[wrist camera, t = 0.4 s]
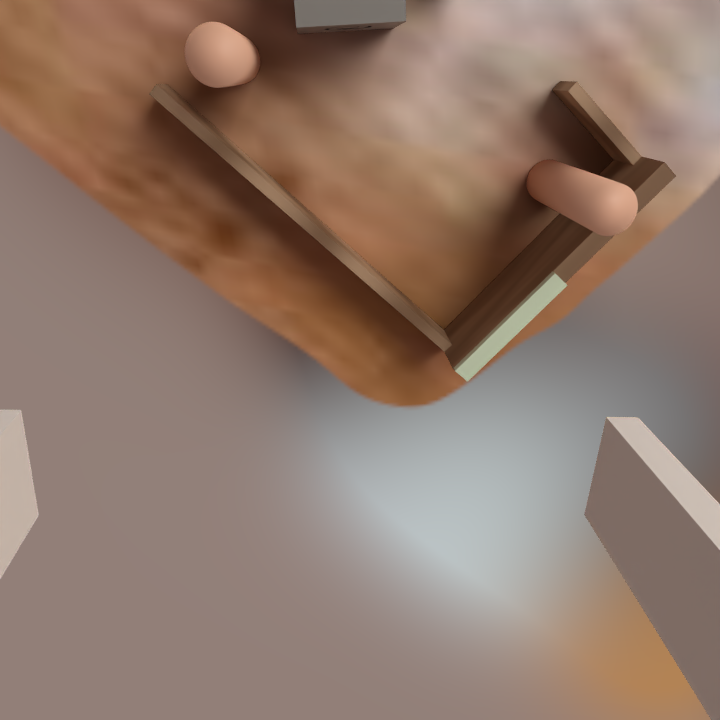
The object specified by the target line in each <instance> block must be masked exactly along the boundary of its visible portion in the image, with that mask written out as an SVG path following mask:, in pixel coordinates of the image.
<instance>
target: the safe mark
mask: <svg viewBox="0 0 720 720" xmlns="http://www.w3.org/2000/svg"><path fill="white" fill-rule="evenodd" d="M566 286H567V285H566V284H565V283H564V282H563V281H562V280H561V279H560V278H559V277H558V276H557V275H556V274H555V273H554V272H553V271H552V272H551V273H550V274H549V275H548V276H547V277H546V278H545V279H544V280H543V281H542V282H541V283H540V284H539V285H538V286H537V287H536V288H535V289H534V290H533V291H532V292H531V293H530V294H529V295H528V296H527V297H526V298H525V299H524V300H523V301H522V302H521V303H520V304H519V305H518V306H517V307H516V308H514V309H513V310H512V311H511V312H510V313H509V314H508V315H507V316H506V317H505V318H504V319H503V320H502V321H501V322H500V323H499V324H498V325H497V326H496V327H495V328H494V329H493V330H492V331H491V332H490V333H489V334H488V335H487V336H486V337H485V338H484V339H483V340H482V341H481V342H480V343H479V344H478V345H477V346H476V347H475V348H474V349H473V350H472V351H470V352H469V353H468V354H467V355H466V356H465V357H464V358H463V359H462V360H461V361H460V362H459V363H458V364H457V365H456V366H455V367H454V370H455V371H456V372H457V373H458V374H459V375H460V376H462V377H463V378H464V379H465V380H466V381H467V382H468V381H469V380H470V379H471V378H472V377H473V376H474V375H475V374H476V373H477V372H478V371H479V370H480V369H481V368H482V367H483V366H484V365H485V364H486V363H487V362H488V361H489V360H490V359H491V358H493V357H494V356H495V355H496V354H497V353H498V352H499V351H500V350H501V349H502V348H503V347H504V346H505V345H506V344H507V343H508V342H509V341H510V340H511V339H512V338H513V337H514V336H515V335H516V334H517V333H518V332H520V331H521V330H522V329H523V328H524V327H525V326H526V325H527V324H528V323H529V322H530V321H531V320H532V319H533V318H534V317H535V316H536V315H537V314H538V313H539V312H540V311H541V310H542V309H543V308H544V307H545V306H546V305H548V304H549V303H550V302H551V301H552V300H553V299H554V298H555V297H556V296H557V295H558V294H559V293H560V292H561V291H562V290H563V289H564V288H565V287H566Z"/></svg>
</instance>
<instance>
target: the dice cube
mask: <svg viewBox="0 0 720 720" xmlns="http://www.w3.org/2000/svg"><path fill="white" fill-rule="evenodd" d="M294 6H295V18H296V28H297V32H298V34H305V33H322V32H339V31H356V30H373V29H390V28H395V27H397V26H399V25H400V24H402V23H404V22H406V0H294Z"/></svg>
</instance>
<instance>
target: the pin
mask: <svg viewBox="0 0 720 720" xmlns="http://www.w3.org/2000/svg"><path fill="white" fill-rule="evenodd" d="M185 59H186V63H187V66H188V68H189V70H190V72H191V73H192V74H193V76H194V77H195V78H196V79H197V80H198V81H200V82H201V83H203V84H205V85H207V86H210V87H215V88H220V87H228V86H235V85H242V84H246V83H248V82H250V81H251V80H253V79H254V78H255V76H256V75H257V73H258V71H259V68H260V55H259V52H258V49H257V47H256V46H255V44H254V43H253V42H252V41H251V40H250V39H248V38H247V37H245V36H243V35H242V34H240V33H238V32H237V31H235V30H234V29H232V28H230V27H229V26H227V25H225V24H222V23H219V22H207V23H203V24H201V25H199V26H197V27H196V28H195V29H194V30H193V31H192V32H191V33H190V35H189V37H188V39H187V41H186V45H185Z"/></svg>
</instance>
